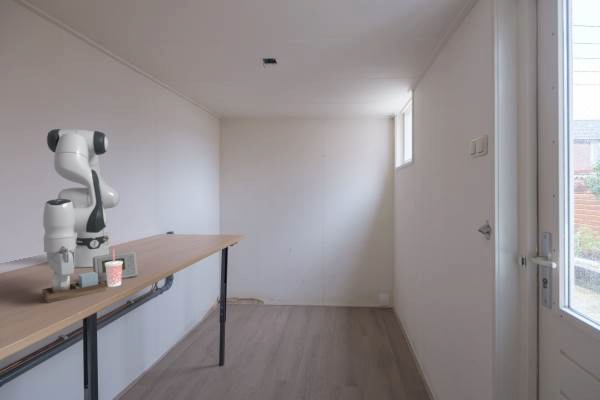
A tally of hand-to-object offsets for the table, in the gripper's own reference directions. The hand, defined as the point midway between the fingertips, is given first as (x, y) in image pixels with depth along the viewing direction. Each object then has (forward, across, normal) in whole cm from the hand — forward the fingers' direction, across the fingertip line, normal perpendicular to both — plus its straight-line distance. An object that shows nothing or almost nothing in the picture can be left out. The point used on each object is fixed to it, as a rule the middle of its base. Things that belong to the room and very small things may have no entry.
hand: (61, 284), depth 108 cm
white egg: (+2, 0, 0) cm, 2 cm away
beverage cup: (+4, 0, -17) cm, 17 cm away
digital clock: (+5, +9, -20) cm, 22 cm away
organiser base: (+4, 0, -4) cm, 6 cm away
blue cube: (+3, 0, -8) cm, 9 cm away
